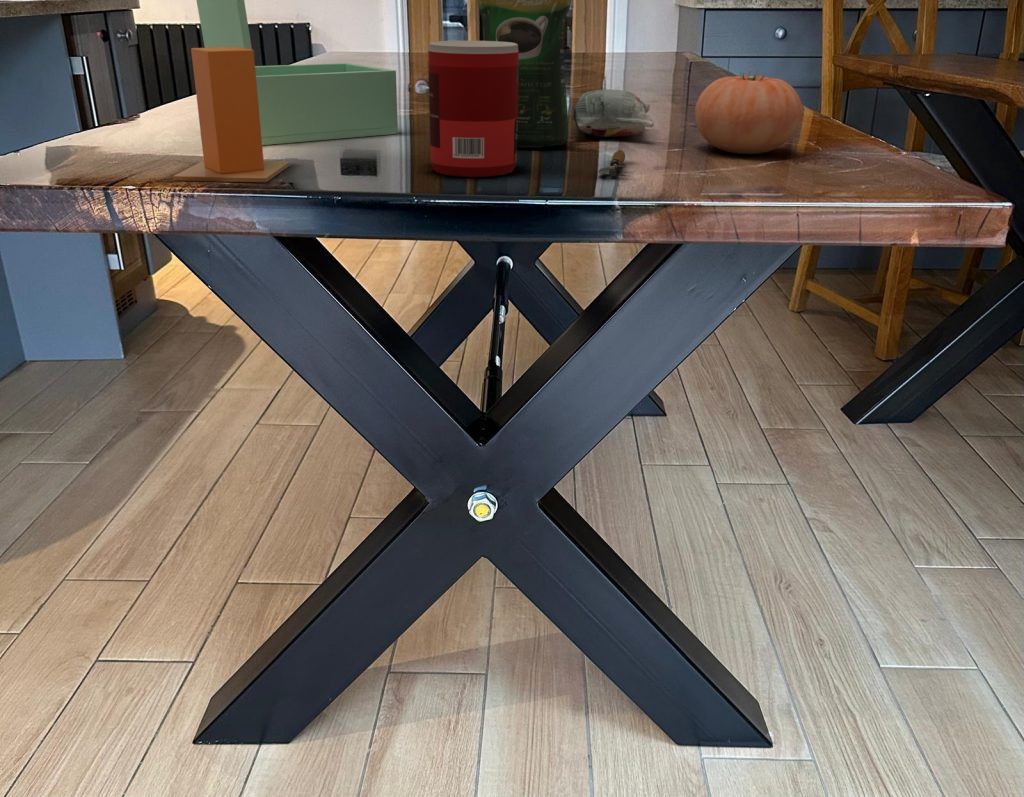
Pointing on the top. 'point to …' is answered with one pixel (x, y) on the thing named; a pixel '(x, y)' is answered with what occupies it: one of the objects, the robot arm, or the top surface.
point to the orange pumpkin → (748, 113)
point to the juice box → (228, 109)
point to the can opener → (615, 163)
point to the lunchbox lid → (224, 23)
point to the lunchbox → (325, 102)
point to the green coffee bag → (534, 64)
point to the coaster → (206, 174)
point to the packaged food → (611, 113)
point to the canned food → (473, 107)
